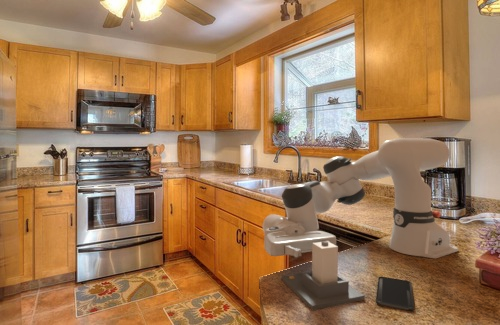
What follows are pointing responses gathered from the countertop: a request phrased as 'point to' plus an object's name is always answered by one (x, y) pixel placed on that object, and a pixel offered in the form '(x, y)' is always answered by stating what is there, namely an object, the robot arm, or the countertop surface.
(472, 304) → the countertop surface
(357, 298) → the dock
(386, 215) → the countertop surface
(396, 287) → the phone
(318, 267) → the cream square peg
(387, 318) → the countertop surface
